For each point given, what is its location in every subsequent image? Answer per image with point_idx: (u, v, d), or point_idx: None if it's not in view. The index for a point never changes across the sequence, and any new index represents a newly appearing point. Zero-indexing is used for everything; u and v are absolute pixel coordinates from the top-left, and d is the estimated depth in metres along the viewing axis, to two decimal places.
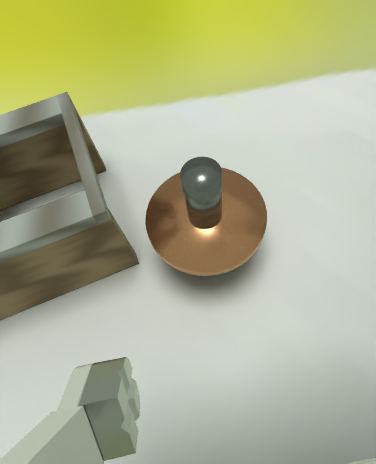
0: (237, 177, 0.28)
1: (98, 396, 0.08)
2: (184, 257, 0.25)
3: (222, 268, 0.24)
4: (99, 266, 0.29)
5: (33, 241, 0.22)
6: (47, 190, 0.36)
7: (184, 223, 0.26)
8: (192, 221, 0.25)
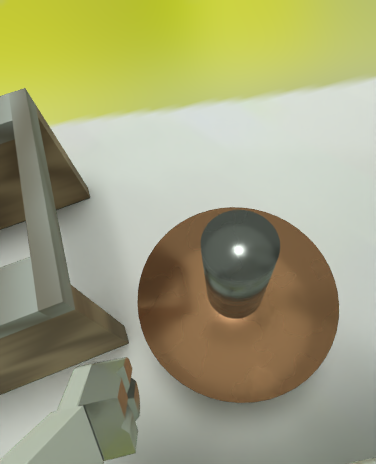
0: (284, 227, 0.18)
1: (98, 396, 0.08)
2: (200, 371, 0.15)
3: (267, 398, 0.14)
4: (66, 356, 0.19)
5: None
6: (8, 224, 0.26)
7: (200, 305, 0.16)
8: (214, 306, 0.15)
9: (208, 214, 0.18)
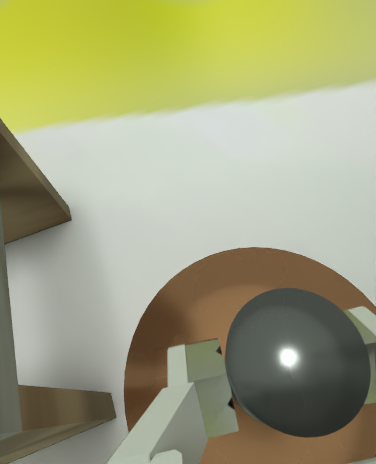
0: (328, 277, 0.13)
1: (206, 373, 0.08)
2: None
3: None
4: (28, 449, 0.14)
5: None
6: None
7: None
8: (236, 405, 0.10)
9: (222, 257, 0.14)
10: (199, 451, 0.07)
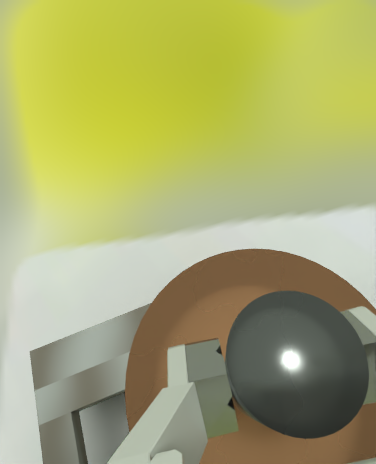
0: (328, 278, 0.13)
1: (206, 373, 0.08)
2: None
3: None
4: None
5: None
6: None
7: None
8: (237, 406, 0.10)
9: (222, 258, 0.14)
10: (199, 451, 0.07)
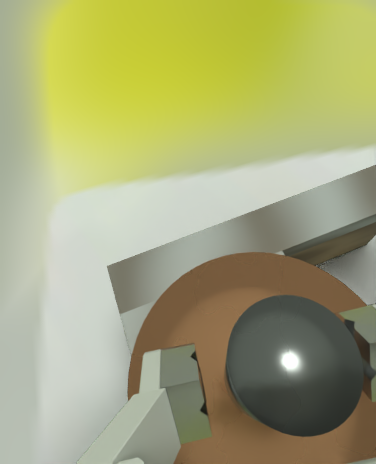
0: (326, 281, 0.13)
1: (178, 379, 0.08)
2: None
3: None
4: None
5: None
6: None
7: (216, 399, 0.11)
8: (237, 406, 0.11)
9: (222, 261, 0.14)
10: (170, 457, 0.07)
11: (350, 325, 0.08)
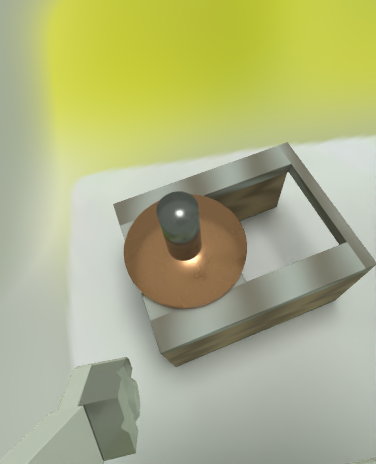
0: (218, 206, 0.27)
1: (98, 396, 0.08)
2: (161, 290, 0.24)
3: (199, 303, 0.24)
4: (315, 304, 0.31)
5: (313, 290, 0.25)
6: None
7: (163, 253, 0.26)
8: (170, 252, 0.25)
9: None
10: None
11: None
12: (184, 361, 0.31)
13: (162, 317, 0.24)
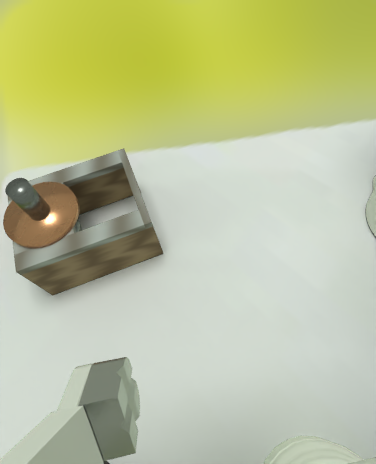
0: (66, 189, 0.44)
1: (98, 396, 0.08)
2: (20, 237, 0.41)
3: (40, 243, 0.40)
4: (140, 253, 0.48)
5: (111, 237, 0.41)
6: (102, 205, 0.55)
7: (26, 216, 0.42)
8: (28, 215, 0.42)
9: (39, 184, 0.45)
10: None
11: None
12: (55, 290, 0.48)
13: (21, 253, 0.41)
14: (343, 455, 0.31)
